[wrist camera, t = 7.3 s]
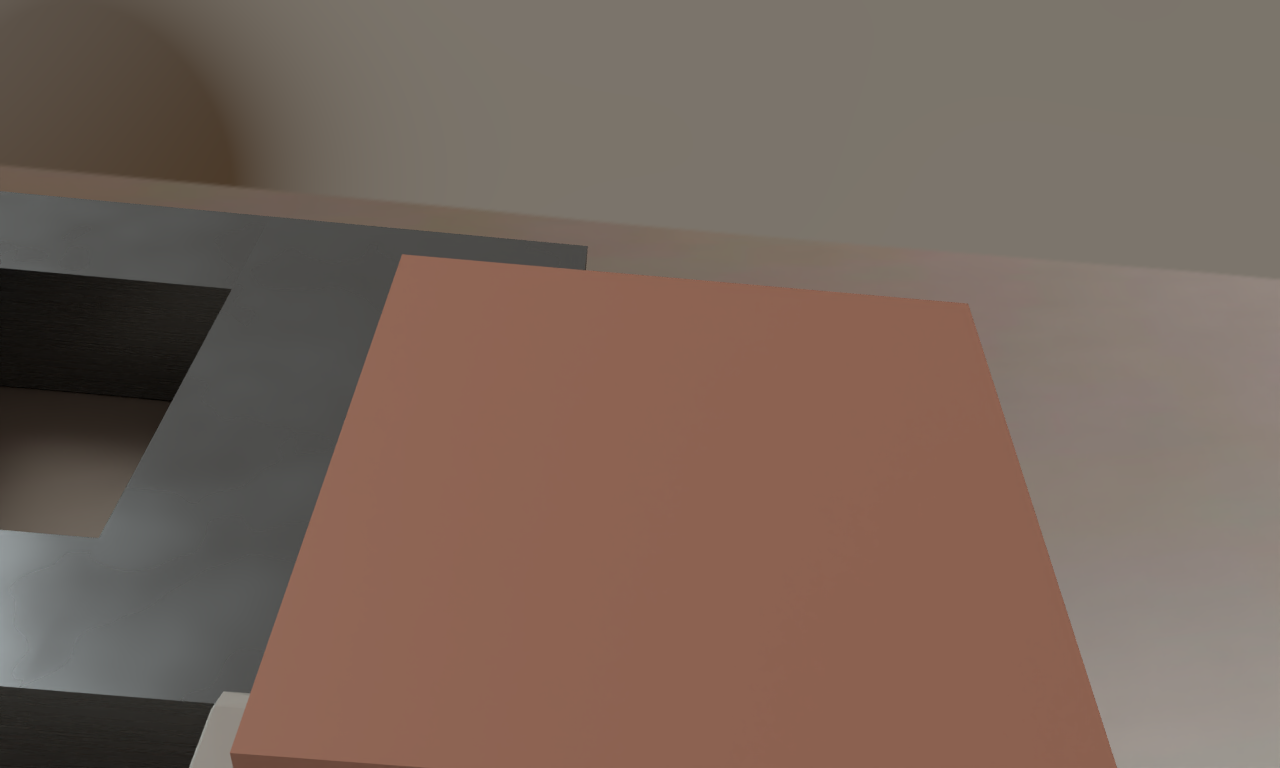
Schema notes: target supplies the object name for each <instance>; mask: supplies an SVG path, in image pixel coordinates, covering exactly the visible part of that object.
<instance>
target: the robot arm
mask: <svg viewBox="0 0 1280 768" xmlns="http://www.w3.org/2000/svg"><path fill="white" fill-rule="evenodd" d="M249 696H250V693H239V692H225V691H223V693H222V694H221V696H220V697H219V698H218V700H217V701H216V703H215V704H214V706H213V707H212V709H211V711H210V713H209V716H208V719H207V721H206V724H205V727H204V729H203V732H202V735H201V737H200V740H199V743H198V745H197V748H196V751H195V753H194V756H193V759H192V761H191V764H190V767H189V768H233V765H232V760H231V756H230V751H231V748H232V745H233V742H234V739H235V736H236V733H237V730H238V728H239V725H240V722H241V719H242V716H243V713H244V710H245V707H246V704H247V701H248V699H249Z"/></svg>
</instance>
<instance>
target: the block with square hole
mask: <svg viewBox="0 0 1280 768" xmlns="http://www.w3.org/2000/svg"><path fill="white" fill-rule="evenodd" d="M587 248H588V246H579V245H569V244H558V243H547V242H537V241H526V240H515V239H504V238H494V237H483V236H472V235H462V234H451V233H440V232H430V231H419V230H408V229H397V228H387V227H376V226H365V225H355V224H344V223H333V222H323V221H312V220H301V219H290V218H280V217H269V216H258V215H248V214H237V213H226V212H215V211H205V210H194V209H183V208H173V207H162V206H151V205H141V204H130V203H119V202H108V201H98V200H87V199H76V198H66V197H55V196H44V195H34V194H23V193H12V192H1V191H0V385H3V386H14V387H25V388H36V389H48V390H59V391H70V392H82V393H93V394H104V395H115V396H127V397H138V398H149V399H161V400H172V402H171V404H170V406H169V408H168V410H167V411H166V413H165V415H164V417H163V419H162V421H161V423H160V425H159V426H158V428H157V430H156V432H155V434H154V436H153V438H152V439H151V441H150V443H149V445H148V447H147V449H146V451H145V453H144V454H143V456H142V458H141V460H140V462H139V464H138V466H137V468H136V469H135V471H134V473H133V475H132V477H131V479H130V481H129V483H128V484H127V486H126V488H125V490H124V492H123V494H122V496H121V498H120V499H119V501H118V503H117V505H116V507H115V509H114V511H113V512H112V514H111V516H110V518H109V520H108V522H107V524H106V526H105V527H104V529H103V531H102V533H101V535H100V537H99V538H89V537H77V536H66V535H54V534H42V533H30V532H19V531H7V530H0V768H189V767H190V764H191V761H192V759H193V756H194V753H195V751H196V748H197V745H198V743H199V740H200V737H201V735H202V732H203V729H204V727H205V724H206V721H207V719H208V716H209V713H210V711H211V709H212V707H213V706H214V704H215V703H216V701H217V700H218V698H219V697H220V696H221V694H222V693H223V691H225V692H239V693H251V690H252V687H253V684H254V681H255V678H256V675H257V673H258V670H259V667H260V664H261V661H262V658H263V655H264V652H265V649H266V647H267V644H268V641H269V638H270V635H271V632H272V629H273V626H274V623H275V620H276V618H277V615H278V612H279V609H280V606H281V603H282V600H283V597H284V594H285V592H286V589H287V586H288V583H289V580H290V577H291V574H292V571H293V568H294V566H295V563H296V560H297V557H298V554H299V551H300V548H301V545H302V542H303V539H304V537H305V534H306V531H307V528H308V525H309V522H310V519H311V516H312V513H313V511H314V508H315V505H316V502H317V499H318V496H319V493H320V490H321V487H322V484H323V482H324V479H325V476H326V473H327V470H328V467H329V464H330V461H331V458H332V456H333V453H334V450H335V447H336V444H337V441H338V438H339V435H340V432H341V430H342V427H343V424H344V421H345V418H346V415H347V412H348V409H349V406H350V404H351V401H352V398H353V395H354V392H355V389H356V386H357V383H358V380H359V377H360V375H361V372H362V369H363V366H364V363H365V360H366V357H367V354H368V351H369V349H370V346H371V343H372V340H373V337H374V334H375V331H376V328H377V325H378V322H379V320H380V317H381V314H382V311H383V308H384V305H385V302H386V299H387V296H388V294H389V291H390V288H391V285H392V282H393V279H394V276H395V273H396V270H397V268H398V265H399V262H400V259H401V256H402V254H404V255H416V256H427V257H439V258H450V259H461V260H473V261H484V262H496V263H507V264H519V265H530V266H542V267H553V268H565V269H576V270H586V262H587Z"/></svg>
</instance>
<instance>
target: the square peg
mask: <svg viewBox="0 0 1280 768" xmlns="http://www.w3.org/2000/svg"><path fill="white" fill-rule="evenodd" d="M230 756H231V760H232V765H233V768H1117V766H1116V763H1115V760H1114V757H1113V754H1112V751H1111V748H1110V745H1109V741H1108V738H1107V735H1106V732H1105V729H1104V726H1103V723H1102V720H1101V717H1100V713H1099V710H1098V707H1097V704H1096V701H1095V698H1094V695H1093V692H1092V689H1091V685H1090V682H1089V679H1088V676H1087V673H1086V670H1085V667H1084V664H1083V660H1082V657H1081V654H1080V651H1079V648H1078V645H1077V642H1076V639H1075V636H1074V632H1073V629H1072V626H1071V623H1070V620H1069V617H1068V614H1067V611H1066V608H1065V604H1064V601H1063V598H1062V595H1061V592H1060V589H1059V586H1058V583H1057V579H1056V576H1055V573H1054V570H1053V567H1052V564H1051V561H1050V558H1049V555H1048V551H1047V548H1046V545H1045V542H1044V539H1043V536H1042V533H1041V530H1040V527H1039V523H1038V520H1037V517H1036V514H1035V511H1034V508H1033V505H1032V502H1031V498H1030V495H1029V492H1028V489H1027V486H1026V483H1025V480H1024V477H1023V474H1022V470H1021V467H1020V464H1019V461H1018V458H1017V455H1016V452H1015V449H1014V445H1013V442H1012V439H1011V436H1010V433H1009V430H1008V427H1007V424H1006V421H1005V417H1004V414H1003V411H1002V408H1001V405H1000V402H999V399H998V396H997V393H996V389H995V386H994V383H993V380H992V377H991V374H990V371H989V368H988V364H987V361H986V358H985V355H984V352H983V349H982V346H981V343H980V340H979V336H978V333H977V330H976V327H975V324H974V321H973V318H972V315H971V312H970V308H969V305H968V304H965V303H954V302H942V301H931V300H919V299H908V298H897V297H885V296H874V295H862V294H851V293H839V292H828V291H816V290H805V289H793V288H782V287H771V286H759V285H748V284H736V283H725V282H713V281H702V280H690V279H679V278H668V277H656V276H645V275H633V274H622V273H610V272H599V271H587V270H576V269H565V268H553V267H542V266H530V265H519V264H507V263H496V262H484V261H473V260H461V259H450V258H439V257H427V256H416V255H404V254H402V256H401V259H400V262H399V265H398V268H397V270H396V273H395V276H394V279H393V282H392V285H391V288H390V291H389V294H388V296H387V299H386V302H385V305H384V308H383V311H382V314H381V317H380V320H379V322H378V325H377V328H376V331H375V334H374V337H373V340H372V343H371V346H370V349H369V351H368V354H367V357H366V360H365V363H364V366H363V369H362V372H361V375H360V377H359V380H358V383H357V386H356V389H355V392H354V395H353V398H352V401H351V404H350V406H349V409H348V412H347V415H346V418H345V421H344V424H343V427H342V430H341V432H340V435H339V438H338V441H337V444H336V447H335V450H334V453H333V456H332V458H331V461H330V464H329V467H328V470H327V473H326V476H325V479H324V482H323V484H322V487H321V490H320V493H319V496H318V499H317V502H316V505H315V508H314V511H313V513H312V516H311V519H310V522H309V525H308V528H307V531H306V534H305V537H304V539H303V542H302V545H301V548H300V551H299V554H298V557H297V560H296V563H295V566H294V568H293V571H292V574H291V577H290V580H289V583H288V586H287V589H286V592H285V594H284V597H283V600H282V603H281V606H280V609H279V612H278V615H277V618H276V620H275V623H274V626H273V629H272V632H271V635H270V638H269V641H268V644H267V647H266V649H265V652H264V655H263V658H262V661H261V664H260V667H259V670H258V673H257V675H256V678H255V681H254V684H253V687H252V690H251V693H250V696H249V699H248V701H247V704H246V707H245V710H244V713H243V716H242V719H241V722H240V725H239V728H238V730H237V733H236V736H235V739H234V742H233V745H232V748H231V751H230Z"/></svg>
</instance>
